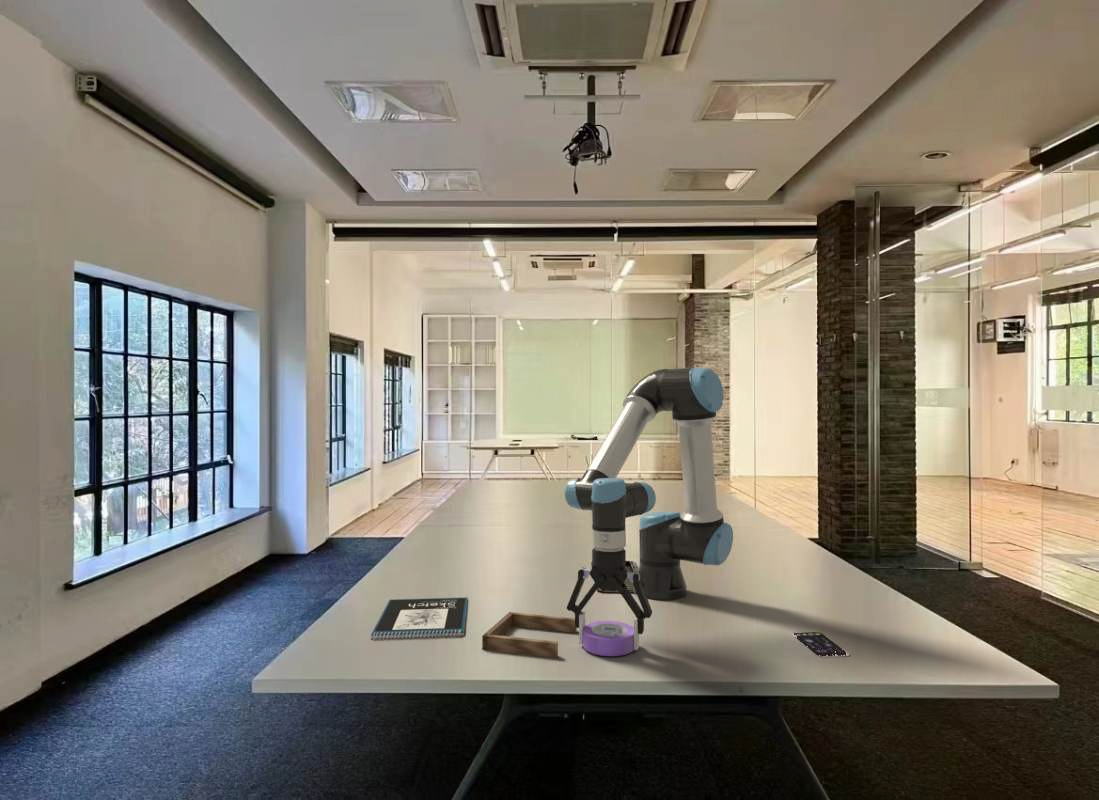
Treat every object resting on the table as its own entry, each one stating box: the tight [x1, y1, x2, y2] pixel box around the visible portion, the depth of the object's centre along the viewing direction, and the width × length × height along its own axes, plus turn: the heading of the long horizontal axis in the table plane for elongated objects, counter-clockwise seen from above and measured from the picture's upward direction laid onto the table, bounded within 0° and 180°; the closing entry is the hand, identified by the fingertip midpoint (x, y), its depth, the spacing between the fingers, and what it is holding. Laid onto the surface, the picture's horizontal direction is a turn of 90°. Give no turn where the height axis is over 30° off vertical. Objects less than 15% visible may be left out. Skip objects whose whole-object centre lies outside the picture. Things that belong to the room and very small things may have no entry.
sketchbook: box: [370, 596, 469, 641], centre depth 169 cm, size 22×30×2 cm
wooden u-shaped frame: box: [481, 611, 578, 659], centre depth 153 cm, size 17×17×3 cm
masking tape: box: [582, 620, 635, 657], centre depth 148 cm, size 12×12×4 cm
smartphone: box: [793, 631, 847, 658], centre depth 150 cm, size 8×1×15 cm
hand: (609, 645), depth 148 cm, fingers closed on masking tape, 12 cm apart
